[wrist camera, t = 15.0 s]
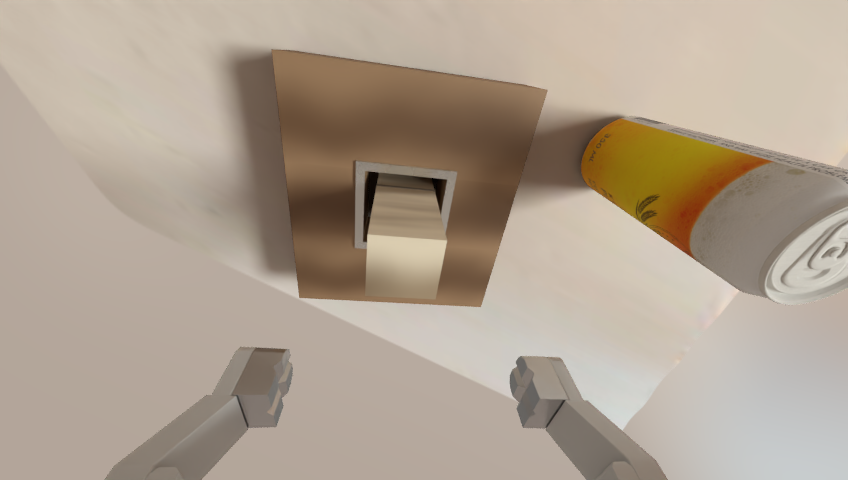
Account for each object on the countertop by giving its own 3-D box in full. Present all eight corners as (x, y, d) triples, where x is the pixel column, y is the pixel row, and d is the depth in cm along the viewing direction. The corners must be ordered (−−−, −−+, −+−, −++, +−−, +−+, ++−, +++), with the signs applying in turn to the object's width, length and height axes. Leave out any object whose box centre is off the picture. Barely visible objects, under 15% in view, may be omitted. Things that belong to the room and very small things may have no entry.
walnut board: (294, 50, 20) (270, 49, 16) (524, 84, 22) (548, 90, 18) (311, 269, 29) (298, 299, 25) (471, 279, 31) (481, 308, 27)
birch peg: (380, 164, 24) (366, 233, 15) (429, 170, 25) (447, 240, 15) (377, 210, 26) (364, 296, 17) (423, 214, 27) (435, 299, 17)
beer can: (566, 187, 26) (724, 312, 13) (590, 112, 23) (827, 182, 10) (632, 189, 27) (844, 311, 14) (663, 116, 23) (977, 187, 11)
